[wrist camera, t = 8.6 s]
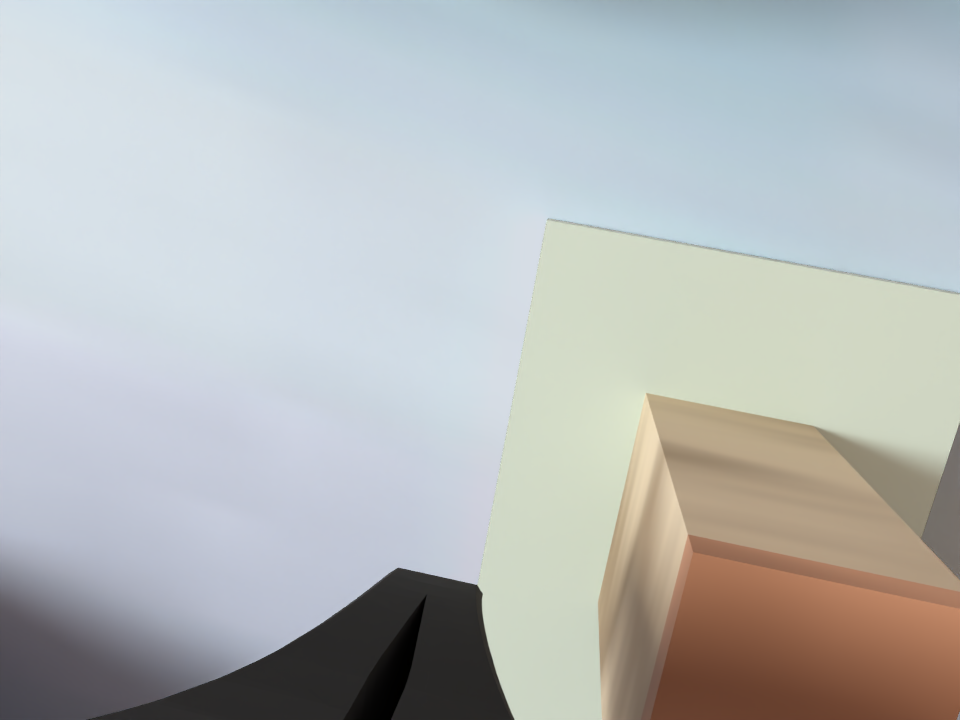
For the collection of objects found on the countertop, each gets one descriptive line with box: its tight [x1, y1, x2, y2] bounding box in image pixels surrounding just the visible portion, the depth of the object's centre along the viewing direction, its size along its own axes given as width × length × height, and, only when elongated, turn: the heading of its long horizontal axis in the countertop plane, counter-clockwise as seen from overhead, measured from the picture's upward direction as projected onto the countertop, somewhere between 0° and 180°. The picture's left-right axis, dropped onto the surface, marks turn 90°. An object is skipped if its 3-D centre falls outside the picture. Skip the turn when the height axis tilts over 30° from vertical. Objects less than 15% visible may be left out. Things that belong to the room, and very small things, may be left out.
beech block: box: [598, 393, 960, 720], centre depth 14 cm, size 5×4×8 cm
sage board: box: [477, 218, 960, 720], centre depth 18 cm, size 13×9×1 cm
